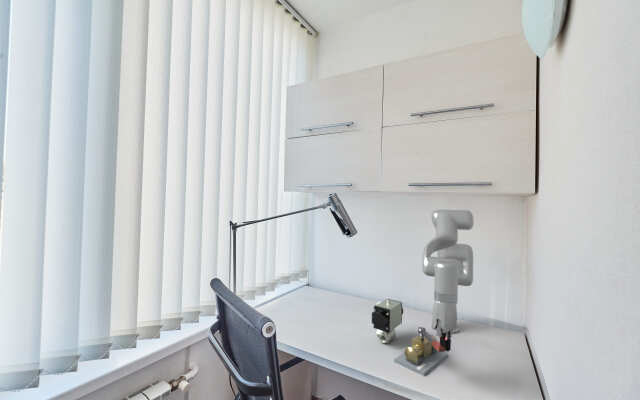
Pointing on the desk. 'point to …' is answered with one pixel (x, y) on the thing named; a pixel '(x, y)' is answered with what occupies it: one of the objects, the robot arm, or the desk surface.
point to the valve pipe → (419, 349)
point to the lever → (431, 340)
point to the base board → (427, 362)
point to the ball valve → (387, 319)
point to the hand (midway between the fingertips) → (445, 349)
